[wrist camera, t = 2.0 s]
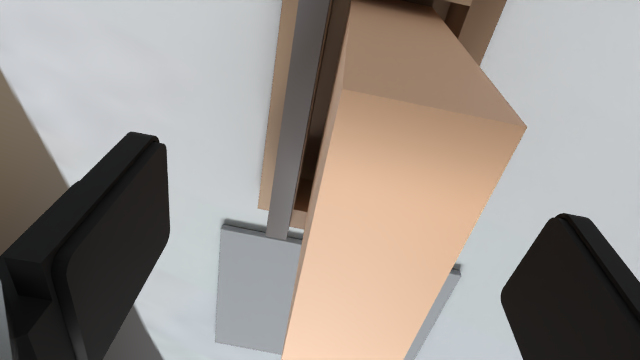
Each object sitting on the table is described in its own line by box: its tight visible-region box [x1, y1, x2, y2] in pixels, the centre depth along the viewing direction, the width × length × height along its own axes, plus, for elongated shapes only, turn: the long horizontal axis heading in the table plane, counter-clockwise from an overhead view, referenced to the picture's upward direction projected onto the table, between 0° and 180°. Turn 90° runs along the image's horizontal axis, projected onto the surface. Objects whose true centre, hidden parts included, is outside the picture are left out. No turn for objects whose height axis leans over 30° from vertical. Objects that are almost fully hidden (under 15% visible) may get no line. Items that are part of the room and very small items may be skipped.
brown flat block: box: [258, 0, 507, 240], centre depth 16 cm, size 8×14×4 cm, turn 170°
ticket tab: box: [281, 0, 527, 360], centre depth 13 cm, size 3×8×10 cm, turn 170°
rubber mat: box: [215, 225, 461, 360], centre depth 26 cm, size 14×11×1 cm
